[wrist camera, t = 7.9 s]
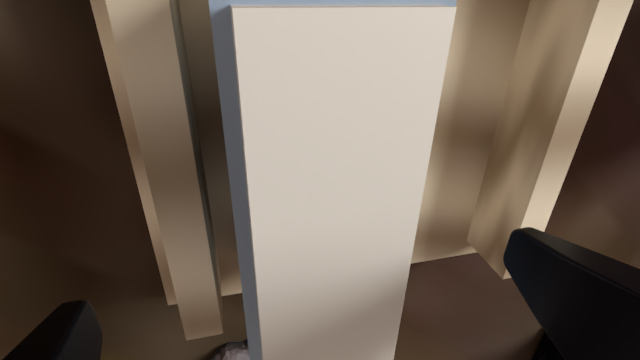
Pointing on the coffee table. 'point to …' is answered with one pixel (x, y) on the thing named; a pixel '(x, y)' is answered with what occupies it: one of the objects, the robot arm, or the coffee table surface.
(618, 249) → the coffee table surface
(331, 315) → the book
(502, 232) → the rack
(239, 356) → the geode
